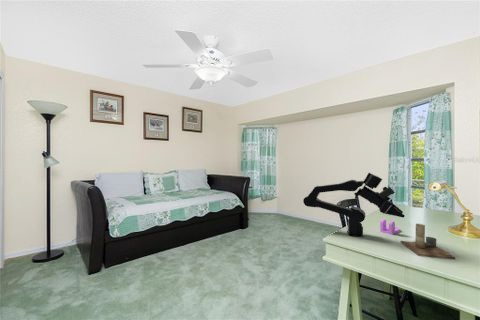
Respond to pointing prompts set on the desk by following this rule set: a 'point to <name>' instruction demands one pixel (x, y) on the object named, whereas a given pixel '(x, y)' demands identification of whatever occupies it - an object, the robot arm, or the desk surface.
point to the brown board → (427, 251)
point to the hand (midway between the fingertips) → (403, 214)
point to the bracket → (390, 229)
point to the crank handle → (423, 238)
